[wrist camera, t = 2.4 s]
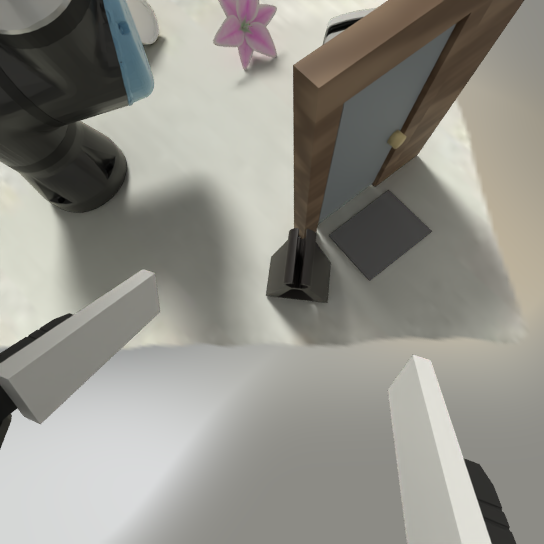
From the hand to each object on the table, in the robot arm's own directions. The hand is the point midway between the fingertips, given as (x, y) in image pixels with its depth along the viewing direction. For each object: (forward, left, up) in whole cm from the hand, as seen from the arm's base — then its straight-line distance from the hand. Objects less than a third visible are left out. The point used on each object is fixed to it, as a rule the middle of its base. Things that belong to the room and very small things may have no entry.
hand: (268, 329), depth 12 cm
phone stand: (-5, +6, -24) cm, 25 cm away
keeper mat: (-3, +20, -23) cm, 31 cm away
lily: (-47, +27, -24) cm, 59 cm away
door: (-10, +19, -22) cm, 31 cm away
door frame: (-10, +22, -23) cm, 34 cm away
